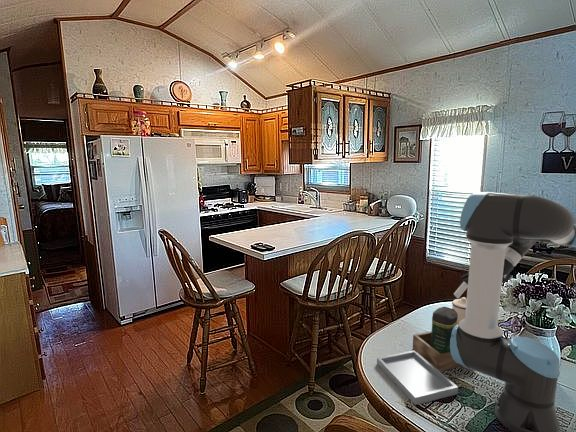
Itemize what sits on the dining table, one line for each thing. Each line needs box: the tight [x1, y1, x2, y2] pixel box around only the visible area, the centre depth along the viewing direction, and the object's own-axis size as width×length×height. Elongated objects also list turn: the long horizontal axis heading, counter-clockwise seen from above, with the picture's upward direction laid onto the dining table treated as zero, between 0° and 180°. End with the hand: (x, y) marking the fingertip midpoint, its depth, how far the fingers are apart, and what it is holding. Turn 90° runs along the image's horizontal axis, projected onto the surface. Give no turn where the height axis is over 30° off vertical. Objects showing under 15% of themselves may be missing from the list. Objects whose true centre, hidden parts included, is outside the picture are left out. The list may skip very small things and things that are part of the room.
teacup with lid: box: [451, 296, 467, 325], centre depth 158 cm, size 12×9×12 cm
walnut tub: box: [412, 330, 464, 372], centre depth 132 cm, size 15×15×6 cm
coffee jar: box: [430, 306, 458, 354], centre depth 131 cm, size 10×8×19 cm
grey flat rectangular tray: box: [376, 349, 459, 406], centre depth 120 cm, size 22×16×2 cm
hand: (469, 303), depth 132 cm, fingers open, 13 cm apart
